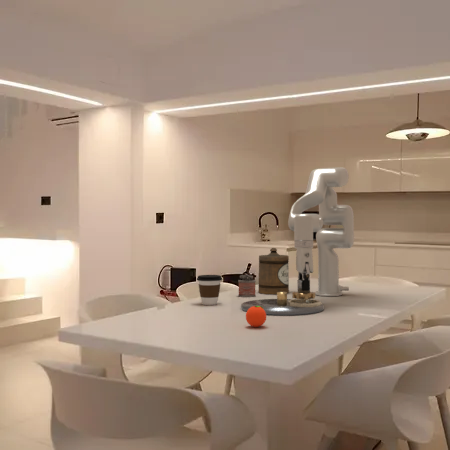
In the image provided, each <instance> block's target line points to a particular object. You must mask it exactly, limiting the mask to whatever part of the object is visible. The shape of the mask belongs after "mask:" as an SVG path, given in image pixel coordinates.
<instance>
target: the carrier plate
mask: <svg viewBox="0 0 450 450" xmlns="http://www.w3.org/2000/svg"><path fill="white" fill-rule="evenodd" d="M253 306H262V307H263V309H264V311H265V313H266V316H273V317H274V316H277V317H278V316H280V317H282V316H283V317H284V316H286V317H287V316H289V317H290V316H291V317H292V316H306V315H307V316H308V315H314V314H318V313H322V312H324V309H325V306H324V304H323V303H322V301H320V300H319V299H296V298H288V293H287V292H277V295H276V298H270V299H269V298H267V299H266V298H264V299H254V300H248V301H244V302H242V303H241V304H240V310H241V311H243V312H246V313H247V311H248V309H249V308H251V307H253Z"/></svg>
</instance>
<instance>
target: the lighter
mask: <svg viewBox="0 0 450 450" xmlns="http://www.w3.org/2000/svg"><path fill="white" fill-rule="evenodd" d="M241 279H242V280H241ZM256 283H257V281H256V280H255V279H254V276H253V275H249V274H247V275H242V274H241V275H239V279H238V295H237V296H238V298H255V297H256Z"/></svg>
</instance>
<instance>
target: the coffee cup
mask: <svg viewBox="0 0 450 450" xmlns="http://www.w3.org/2000/svg"><path fill="white" fill-rule="evenodd" d="M196 280H197V282H198V289H199V295H200V300H201V304H202V305H204V306H214V305H215V306H216V305H217V304H218V301H219V296H220V291H221V290H220V289H221V281H222V280H223V278H222V275H220V274H200V275H198V276H197V278H196Z"/></svg>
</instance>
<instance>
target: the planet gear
mask: <svg viewBox="0 0 450 450" xmlns="http://www.w3.org/2000/svg"><path fill="white" fill-rule="evenodd" d="M302 281H303V280H297V283H296V284H297V291H293V292H292V293H291V296H292V297H291V299H312V300H315V298H316V295H315V292H316V291H314V292H313V291H311V289H310V290H309V291H302Z"/></svg>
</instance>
